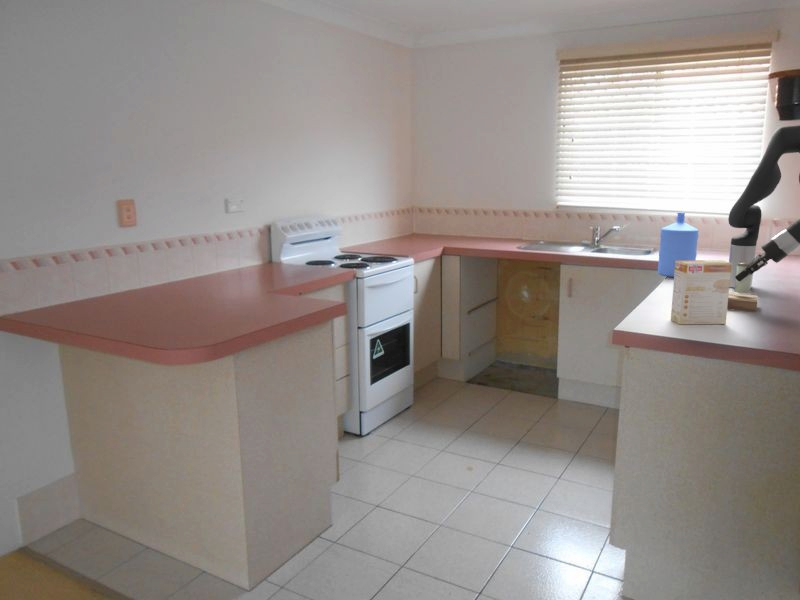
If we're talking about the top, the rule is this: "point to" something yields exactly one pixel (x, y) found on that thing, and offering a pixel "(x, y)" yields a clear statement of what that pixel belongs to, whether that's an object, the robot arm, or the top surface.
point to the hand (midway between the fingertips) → (737, 278)
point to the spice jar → (744, 284)
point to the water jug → (676, 245)
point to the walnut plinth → (742, 302)
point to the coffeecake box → (701, 291)
